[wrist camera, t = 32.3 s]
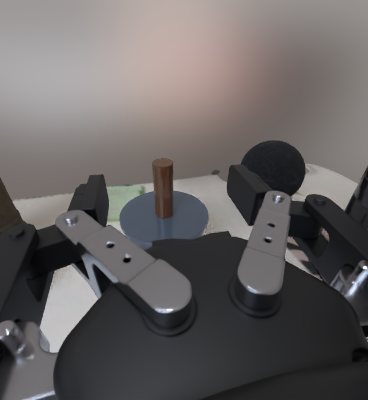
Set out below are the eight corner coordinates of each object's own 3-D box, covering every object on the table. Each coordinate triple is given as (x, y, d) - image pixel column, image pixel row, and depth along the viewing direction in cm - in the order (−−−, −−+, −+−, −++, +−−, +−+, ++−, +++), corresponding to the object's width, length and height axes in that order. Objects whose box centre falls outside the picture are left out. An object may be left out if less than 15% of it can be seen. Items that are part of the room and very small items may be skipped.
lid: (223, 216, 34) (232, 160, 29) (167, 268, 26) (165, 202, 21) (162, 188, 41) (160, 138, 36) (102, 222, 33) (88, 164, 27)
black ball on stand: (222, 201, 54) (231, 140, 45) (255, 184, 61) (267, 128, 52) (272, 230, 45) (293, 161, 37) (302, 206, 53) (326, 144, 44)
